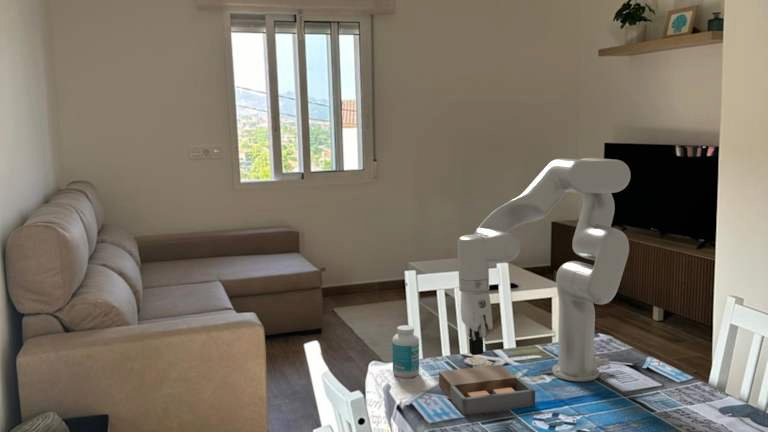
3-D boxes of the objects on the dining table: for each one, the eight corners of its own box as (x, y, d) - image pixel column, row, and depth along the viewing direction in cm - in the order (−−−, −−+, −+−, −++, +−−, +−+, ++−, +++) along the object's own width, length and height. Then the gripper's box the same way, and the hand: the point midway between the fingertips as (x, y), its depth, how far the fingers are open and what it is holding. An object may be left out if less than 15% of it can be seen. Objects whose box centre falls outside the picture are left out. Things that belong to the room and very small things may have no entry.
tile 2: (519, 394, 173) (519, 402, 173) (511, 387, 177) (511, 394, 178) (500, 397, 171) (500, 404, 172) (492, 389, 176) (492, 397, 176)
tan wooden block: (501, 378, 190) (501, 364, 190) (517, 392, 181) (517, 377, 180) (439, 385, 186) (439, 371, 185) (452, 400, 176) (451, 385, 176)
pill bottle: (417, 379, 191) (416, 332, 189) (390, 378, 192) (389, 331, 190) (421, 369, 198) (420, 324, 196) (395, 368, 199) (394, 323, 197)
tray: (519, 392, 181) (519, 377, 180) (535, 405, 172) (535, 390, 172) (450, 400, 176) (450, 385, 175) (463, 415, 167) (463, 399, 167)
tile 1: (493, 398, 171) (493, 405, 171) (485, 390, 176) (485, 398, 176) (474, 400, 170) (474, 408, 170) (467, 392, 174) (467, 400, 175)
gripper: (500, 289, 168) (502, 361, 171) (476, 275, 182) (478, 342, 185) (471, 293, 166) (474, 366, 169) (449, 279, 180) (452, 346, 183)
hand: (476, 353), depth 177 cm, fingers closed
